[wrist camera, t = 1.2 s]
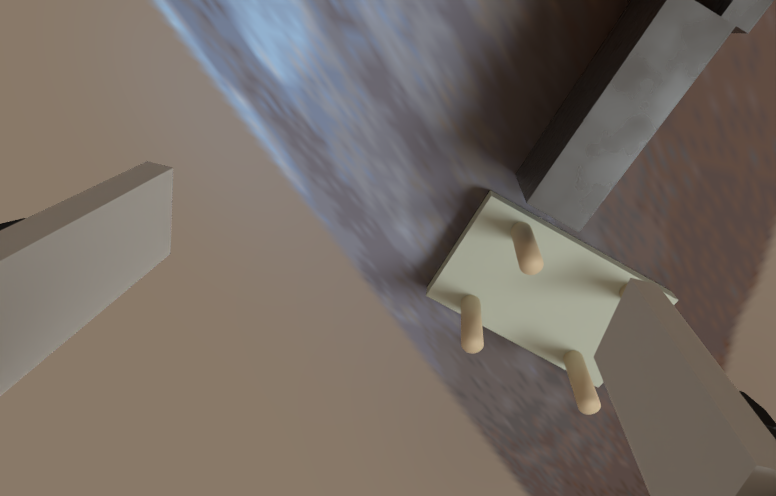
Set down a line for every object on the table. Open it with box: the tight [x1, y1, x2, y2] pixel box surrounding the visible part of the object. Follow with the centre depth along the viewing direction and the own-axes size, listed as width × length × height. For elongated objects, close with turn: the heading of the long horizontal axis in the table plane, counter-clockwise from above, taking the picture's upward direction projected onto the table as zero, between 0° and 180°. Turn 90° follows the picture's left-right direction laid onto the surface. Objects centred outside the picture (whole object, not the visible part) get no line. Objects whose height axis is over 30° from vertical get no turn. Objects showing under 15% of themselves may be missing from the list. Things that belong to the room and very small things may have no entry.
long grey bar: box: [516, 0, 774, 232], centre depth 34 cm, size 17×6×7 cm, turn 152°
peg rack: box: [426, 190, 678, 414], centre depth 40 cm, size 17×10×8 cm, turn 62°
